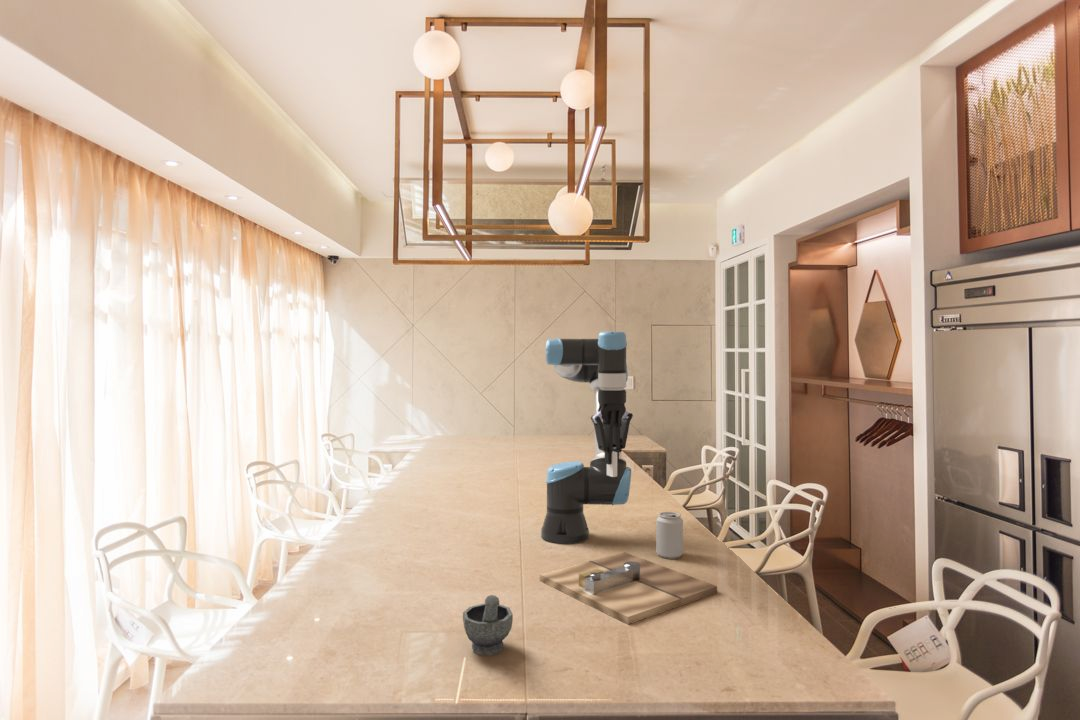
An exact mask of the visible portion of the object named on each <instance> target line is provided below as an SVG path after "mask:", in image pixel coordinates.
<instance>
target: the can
mask: <svg viewBox="0 0 1080 720" xmlns="http://www.w3.org/2000/svg"><path fill="white" fill-rule="evenodd" d="M681 515H682V514H680V513H678V512H673V511H662V512H659V513H658V516H657V518H656V522H655V523H656V524H655V528H656V529H655V530H656V534H655V535H656V537H655V538H656V539H655V540H656V542H655V544H656V545H655V546H656V548H655V549H656V550H655V551H656V554H658V556H659V557H661V558H664V559H670V560H671V559H675V560H676V559H679V558H680V557H681V556H682V555H683V553H684V521H683V519H682V518H681Z"/></svg>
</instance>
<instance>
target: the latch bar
mask: <svg viewBox="0 0 1080 720" xmlns="http://www.w3.org/2000/svg"><path fill="white" fill-rule="evenodd" d="M639 579H640V564H639V563H638V562H633V561H629V562H625V563H624V566H622V567H619V568H616V569H613V570H610V571H607V572H604V573H601V574H600V573H591V574H590V577H589V578H586V579H585V591H587V592H590V593H592V594H596V593H599V592H602V591H604V590H607V589H610V588H613V587H616V586H619V585H621V584H624V583H627V582H630V581H637V580H639Z"/></svg>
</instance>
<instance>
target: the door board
mask: <svg viewBox="0 0 1080 720" xmlns="http://www.w3.org/2000/svg"><path fill="white" fill-rule="evenodd" d="M629 561H633V562H638V563H639V564H640V579H639V580H637V581H630V582H627V583H624V584H621V585H619V586H616V587H613V588H610V589H607V590H604V591H602V592H599V593H596V594H592V593H590V592H587V591H585V579H586V578H589V577H590V574H591V573H600V574H601V573H604V572H607V571H610V570H613V569H616V568H619V567H622V566H624V563H625V562H629ZM539 581H540V582H542V583H543V584H546V585H548V586H550V587H551V588H554V589H556V590H558V591H559V592H561V593H564V594H566V595H567V596H570V597H572V598H574V599H576V600H578V601H579V602H582V603H584V604H586V605H588V606H590V607H592V608H593V609H596V610H598V611H600V612H602V613H604V614H606V615H608V616H610V617H612V618H614V619H616V620H618V621H620V622H621V623H624V624H626V625H630V623H631V624H633V623H636V622H639V621H642V620H644V618H645V619H647V618H649V617H653V616H656V615H659V614H661V612H662V613H665V612H667V611H669V609H670V610H673V609H676V608H678V607H681V606H683V605H686V604H689V603H692V602H696V601H698V600H702V599H704V598H706V597H709V596H712V595H714V594H718V586H717V585H715V584H713V583H711V582H707V581H704V580H701V579H698V578H696V577H693V576H691V575H688V574H685V573H683V572H680V571H677V570H674V569H672V568H669V567H666V566H663V565H661V564H658V563H655V562H652V561H649V560H647V559H644V558H641V557H639V556H636V555H633V554H631V553H629V552H625V551H624V552H621V553H617V554H614V555H613V554H612V555H610V556H609V555H608V556H605V557H601V558H597V559H594V560H589V561H586V562H582V563H578V564H574V565H571V566H567V567H563V568H559V569H555V570H551V571H548V572H543V573H539ZM672 608H673V609H672ZM666 610H667V611H666ZM658 613H659V614H658ZM638 620H639V621H638Z"/></svg>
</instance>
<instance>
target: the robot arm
mask: <svg viewBox="0 0 1080 720" xmlns="http://www.w3.org/2000/svg"><path fill="white" fill-rule="evenodd" d="M627 347H628V343H627V334H626V333H625V331H600V332H599V334H598V338H559V337H557V338H549V339H547V340H546V342H545V363H546V364H547V365H550V366H551V365H552V366H553V368H554V370H555V372H556V373H557V374H558V375H559V376H560V377H561V378H563V379H565V380H568V381H572V382H577V383H588V384H589V388H590V390H592V391H593V393H594V394H593V405H594V406H593V407H594V408H593V411H594V413H593V415H591V416H590V420H591V421H592V424H593V427H594V457H593V458H592V459H591V460H590V462H589V466H585V465H584V462H582V461H566V462H560V463H556V464H553V465H551V466H549V467H548V469H547V471H546V480H545V483H546V513H545V517H544V521H543V525H542V527H541V530H540V531H541V532H540V535H541V536H540V537H541V538H542V539H543V541H546V542H549V543H555V544H577V543H582V542H584V541H587V540H588V539H589V537H590V531H589V530H590V529H589V527H588V523H587V520H586V516H585V514H584V505H595V506H596V505H599V506H600V505H605V506H609V505H610V506H617V505H618V506H620V505H622V506H623V505H626V504H627V503H628V500H629V496H630V489H631V482H632V468H631V467H629V466H627V461H626V459H624V457H622V452H623V449H626V447H627V440H628V434H629V429H630V424H631V420H632V419H633V416H634V415H633V413H630V412H628V411H627V408H626V405H625V404H626V403H627V390H626V388H627V382H628V379H629V378H628V376H629V374H628V366H627V365H628V364H627Z"/></svg>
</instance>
